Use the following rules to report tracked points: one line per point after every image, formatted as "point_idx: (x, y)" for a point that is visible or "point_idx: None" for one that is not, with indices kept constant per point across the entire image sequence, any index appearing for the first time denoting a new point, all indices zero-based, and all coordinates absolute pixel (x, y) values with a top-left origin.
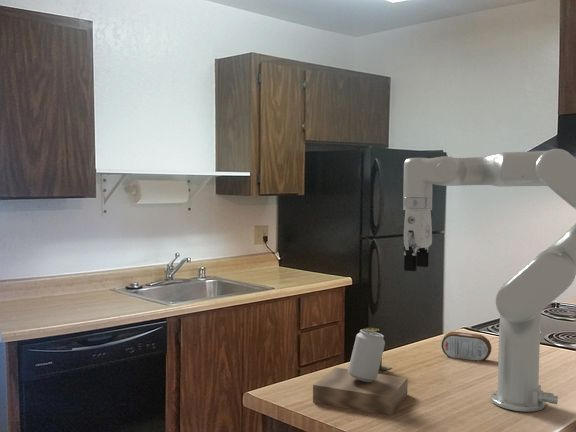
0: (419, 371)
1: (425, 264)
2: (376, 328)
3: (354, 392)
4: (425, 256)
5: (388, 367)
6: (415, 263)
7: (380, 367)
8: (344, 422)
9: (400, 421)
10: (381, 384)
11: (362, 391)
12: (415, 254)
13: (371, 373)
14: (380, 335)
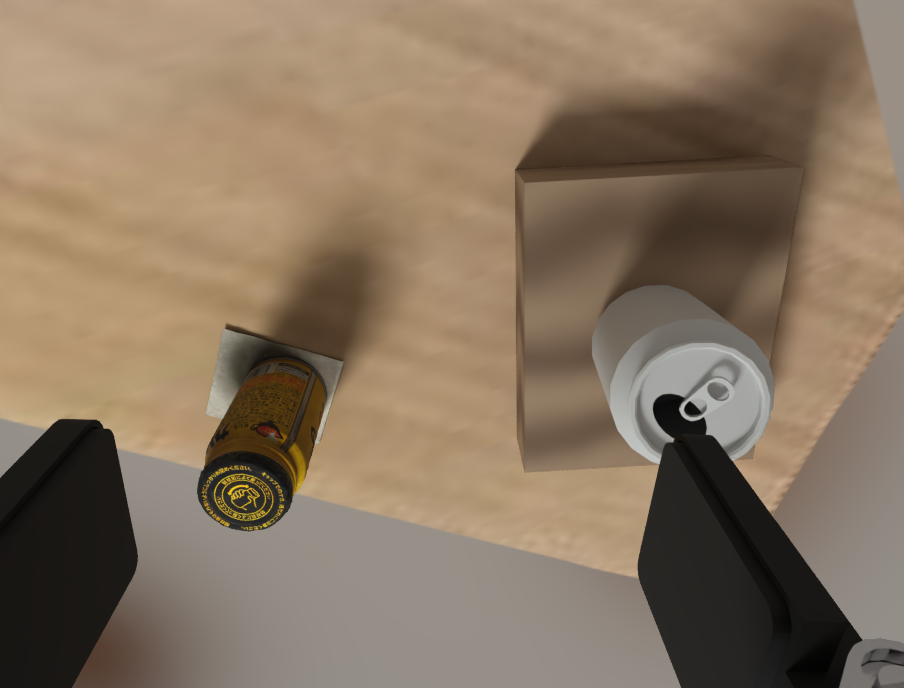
0: (186, 213)
1: (98, 468)
2: (205, 486)
3: (775, 313)
4: (16, 578)
5: (227, 342)
6: (759, 515)
7: (285, 362)
8: (874, 274)
9: (815, 103)
10: (657, 254)
11: (768, 289)
12: (851, 666)
13: (703, 303)
14: (652, 368)
